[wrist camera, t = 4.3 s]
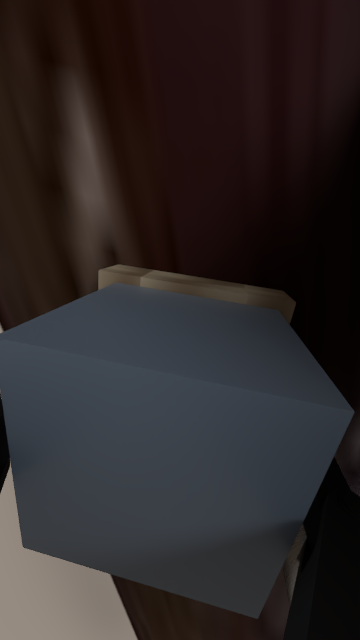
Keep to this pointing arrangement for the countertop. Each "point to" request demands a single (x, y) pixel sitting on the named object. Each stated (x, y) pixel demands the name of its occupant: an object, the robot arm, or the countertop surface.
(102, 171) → the countertop surface
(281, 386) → the slate blue cube
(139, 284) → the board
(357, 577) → the robot arm
